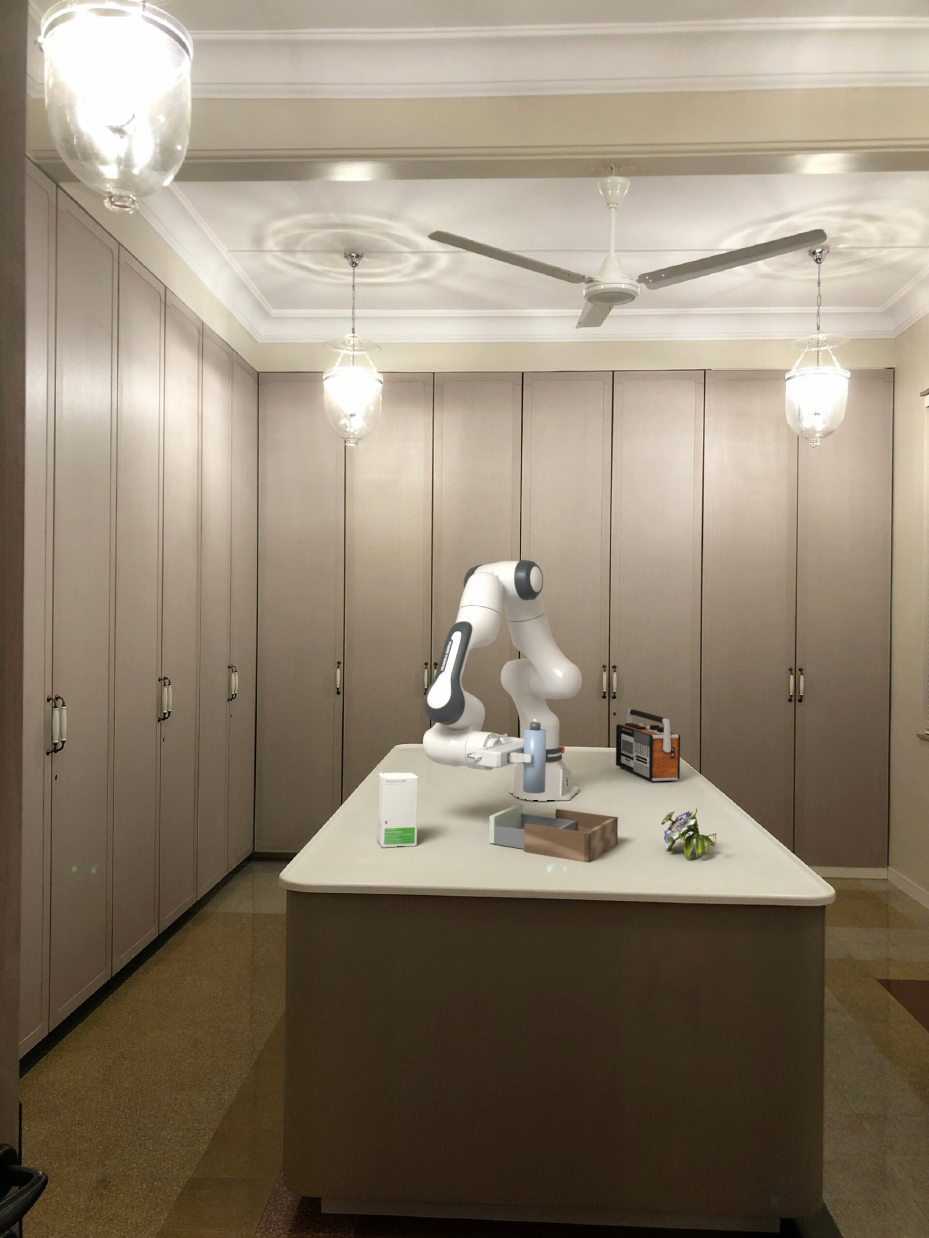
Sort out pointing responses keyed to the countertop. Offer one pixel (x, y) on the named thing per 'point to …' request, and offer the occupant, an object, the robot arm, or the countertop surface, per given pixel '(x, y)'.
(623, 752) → the radio cassette player
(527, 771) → the lotion bottle
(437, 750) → the robot arm
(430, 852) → the countertop surface
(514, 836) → the drawer
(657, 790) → the countertop surface
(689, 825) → the passion flower
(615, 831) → the brown open box
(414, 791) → the skincare box
